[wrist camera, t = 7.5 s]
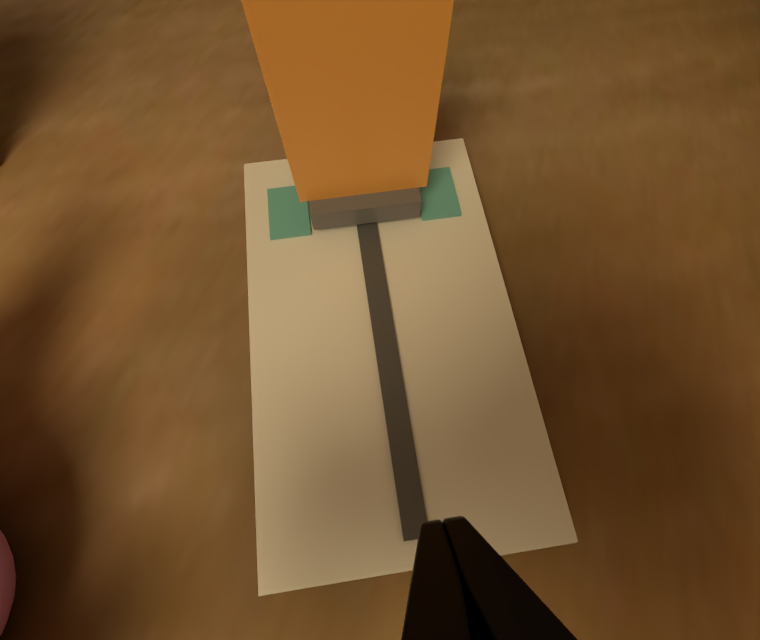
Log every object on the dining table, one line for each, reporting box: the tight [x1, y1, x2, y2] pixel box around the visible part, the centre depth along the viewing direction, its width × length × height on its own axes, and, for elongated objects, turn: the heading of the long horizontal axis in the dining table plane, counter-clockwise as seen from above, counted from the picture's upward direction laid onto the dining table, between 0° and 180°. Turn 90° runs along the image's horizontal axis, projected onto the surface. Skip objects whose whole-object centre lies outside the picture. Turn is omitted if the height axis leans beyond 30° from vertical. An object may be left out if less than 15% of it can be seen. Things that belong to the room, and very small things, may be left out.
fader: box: [241, 0, 454, 230], centre depth 17 cm, size 4×6×10 cm, turn 98°
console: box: [244, 138, 578, 596], centre depth 20 cm, size 20×12×2 cm, turn 8°
